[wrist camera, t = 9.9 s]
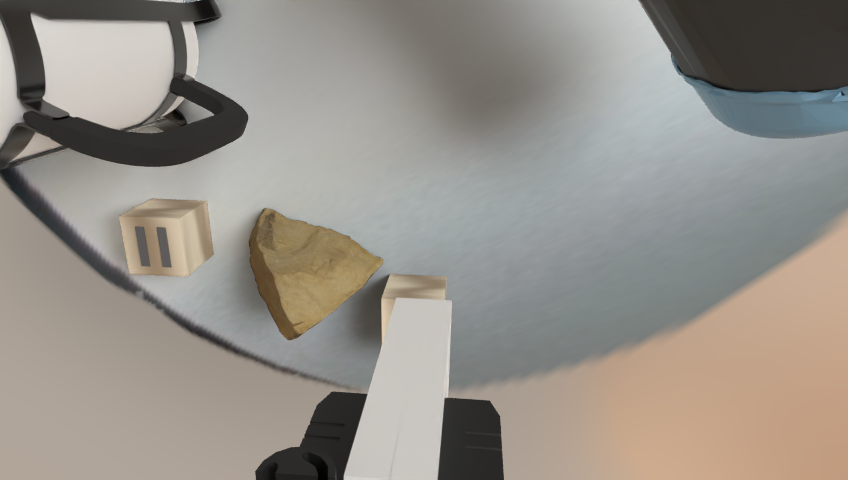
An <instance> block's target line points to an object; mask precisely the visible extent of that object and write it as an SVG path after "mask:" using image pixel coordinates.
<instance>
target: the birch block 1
mask: <svg viewBox="0 0 848 480" xmlns="http://www.w3.org/2000/svg"><path fill="white" fill-rule="evenodd" d="M119 220H120V225H121V231H122V236H123V242H124V247H125V253H126V258H127V264H128V269H129V274H142V275H163V276H184V277H188V276H189V275H190V274H192V273H193V272H194V271H195V270H196V269H197V268H198V267H200V266H201V265H202V264H203V263H204V262H205V261H207V260H208V259H209V258H210V257H211V256H212V255H214V253H213V245H212V237H211V229H210V221H209V213H208V205H207V201H196V200H168V199H150V200H149V201H147V202H145V203H143V204H141V205H139V206H137V207H135V208H133V209H132V210H130V211H128V212H126V213H124V214H122V215H120V216H119Z"/></svg>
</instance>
